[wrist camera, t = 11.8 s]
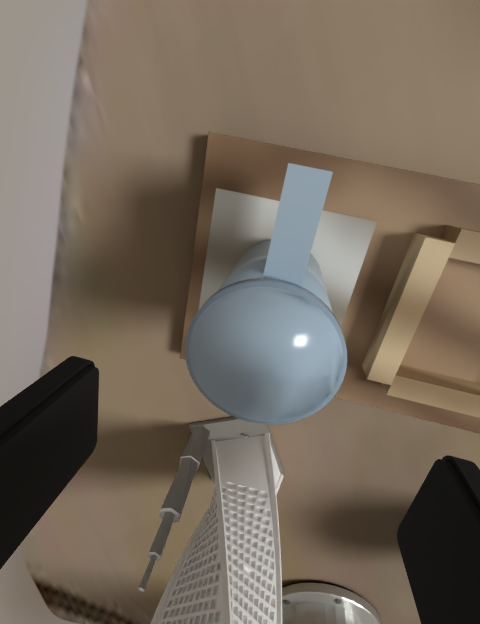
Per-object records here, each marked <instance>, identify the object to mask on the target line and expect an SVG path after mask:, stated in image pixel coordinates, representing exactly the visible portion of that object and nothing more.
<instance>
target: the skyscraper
mask: <svg viewBox="0 0 480 624" xmlns="http://www.w3.org/2000/svg"><path fill="white" fill-rule="evenodd" d="M188 427H189V430H190V432H191V437H190V439H189V441H188V443H187V445H186V447H185V449H184V451H183V453H182V455H181V457H180V462H179V466H180V467H179V469H178V472H177V474H176V476H175V479H174V481H173V483H172V485H171V487H170V490H169V492H168V494H167V496H166V499H165V501H164V503H163V505H162V507H161V511H160V517H162V518H163V520H162V523H161V525H160V527H159V530H158V532H157V535H156V537H155V539H154V542H153V544H152V546H151V549H150V551H149V555H148V557H150V558H151V559H150V562H149V564H148V567H147V569H146V572H145V574H144V577H143V579H142V582H141V584H140V587H139V590H140V591H141V592H142V591H145V588H146V585H147V582H148V580H149V577H150V574H151V571H152V569H153V566H154V563H155V561H156V560H160V558H161V555H162V552H163V549H164V546H165V543H166V540H167V537H168V534H169V532H170V529H171V526H172V523H173V522H179V519H180V516H181V513H182V510H183V507H184V504H185V501H186V498H187V495H188V492H189V489H190V486H191V483H192V480H193V477H194V474H195V472H196V471H198V469H199V466H200V463H201V460H202V459H203V461H204V463H205V465H206V468H207V470H208V472H209V474H210V477H211V479H212V481H213V483H215V489H214V494H213V498H212V502H211V505H210V507H209V508H208V510H207V511H206V513H205V515H204V516H203V518H202V520H201V521H200V523H199V525H198V526H197V528H196V530H195V532H194V533H193V535H192V537H191V539H190V540H189V542H188V544H187V546H186V548H185V550H184V552H183V553H182V555H181V557H180V559H179V561H178V563H177V565H176V567H175V569H174V571H173V573H172V575H171V577H170V579H169V582H168V584H167V586H166V588H165V590H164V593H163V595H162V597H161V600H160V602H159V604H158V606H157V609H156V611H155V614H154V616H153V619H152V621H151V624H282V573H281V550H280V534H279V521H278V508H277V498H276V495H277V492H278V490H279V487H280V484H281V482H282V479H283V477H284V472H283V469H282V466H281V463H280V461H279V458H278V455H277V452H276V449H275V446H274V443H273V441H272V438H271V435H270V432H269V429H268V426H267V424H257V423H252V422H247V421H244V420H241V419H238V418H236V417H229V418H222V419H216V420H209V421H203V422H196V423H190V424H189V426H188Z"/></svg>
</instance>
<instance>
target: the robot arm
mask: <svg viewBox="0 0 480 624" xmlns="http://www.w3.org/2000/svg"><path fill="white" fill-rule="evenodd" d="M98 389H99V370H98V368H96V367H95V365H94V362H92V361H90V360H86V359H83V358H79V357H75V356H71V357H69V358H67V359H66V360H65V361H63V362H62V363H60V364H59V365H58V366H56V367H55V368H54V369H52V370H51V371H49V372H48V373H47V374H45V375H44V376H42V377H41V378H40V379H38V380H37V381H35V382H34V383H33V384H31V385H30V386H29V387H27V388H26V389H24V390H23V391H22V392H20V393H19V394H17V395H16V396H15V397H13V398H12V399H11V400H9V401H8V402H6V403H5V404H4V405H2V406H1V407H0V569H1V568H2V566H3V565H4V564H5V563H6V561H7V560H8V559H9V558H10V556H11V555H12V554H13V553H14V551H15V550H16V549H17V547H18V546H19V545H20V544H21V542H22V541H23V540H24V539H25V537H26V536H27V535H28V534H29V532H30V531H31V530H32V528H33V527H34V526H35V525H36V523H37V522H38V521H39V520H40V518H41V517H42V516H43V515H44V513H45V512H46V511H47V509H48V508H49V507H50V506H51V504H52V503H53V502H54V501H55V499H56V498H57V497H58V496H59V494H60V493H61V492H62V490H63V489H64V488H65V487H66V485H67V484H68V483H69V482H70V480H71V479H72V478H73V476H74V475H75V474H76V473H77V471H78V470H79V469H80V468H81V466H82V465H83V464H84V463H85V461H86V460H87V459H88V457H89V456H90V455H91V454H92V452H93V450H94V448H95V446H96V443H97V424H98ZM397 539H398V544H399V548H400V551H401V555H402V558H403V562H404V565H405V569H406V572H407V576H408V579H409V583H410V586H411V589H412V593H413V596H414V600H415V603H416V607H417V610H418V614H419V617H420V621H421V624H480V470H479V468H478V467H477V466H476V465H475V463H473V462H471V461H468V460H464V459H460V458H456V457H453V456H445V457H443V459H442V460H441V459H438V460H436V461H435V463H434V465H433V466H432V468H431V470H430V472H429V474H428V475H427V477H426V479H425V481H424V483H423V484H422V486H421V488H420V490H419V491H418V493H417V495H416V497H415V499H414V500H413V502H412V504H411V506H410V508H409V509H408V511H407V513H406V515H405V517H404V518H403V520H402V522H401V524H400V526H399V528H398V532H397ZM282 624H381V623H380V619H379V616H378V614H377V612H376V611H375V610H374V608H373V607H372V606H371V605H370V604H369V603H368V602H367V601H366V600H364V599H363V598H361V597H360V596H358V595H357V594H355V593H353V592H351V591H348V590H346V589H343V588H340V587H337V586H334V585H329V584H324V583H313V582H312V583H298V584H292V585H289V586H286V587H283V588H282Z"/></svg>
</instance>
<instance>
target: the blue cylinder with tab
mask: <svg viewBox="0 0 480 624" xmlns="http://www.w3.org/2000/svg"><path fill="white" fill-rule="evenodd" d="M332 174H333V172H331V171H326V170H321V169H316V168H311V167H306V166H301V165H296V164H291V163H288V167H287V171H286V176H285V180H284V185H283V189H282V194H281V198H280V202H279V207H278V211H277V216H276V220H275V225H274V229H273V234H272V238H271V240H266V241H262V242H260V243H257V244H256V245H254V246H252V247H251V248H250V249H248V250H247V251H246V252H245V253H244V254H243V255H242V257H241V258H240V259H239V261H238V262H237V264H236V265H235V266H234V268H233V269H232V271H231V272H230V273H229V275H228V276H227V278H226V279H225V281H224V282H223V283H222V285H221V286H220V288H219V289H218V290H217V292H216V293H215V294H213V295H212V296H211V297H210V298H209V299H208V300H207V301H206V302H205V303H204V304H203V306H202V307H201V308H200V309H199V311H198V312H197V314H196V315H195V317H194V318H193V320H192V322H191V324H190V327H189V329H188V332H187V337H186V343H185V355H186V362H187V366H188V369H189V372H190V375H191V377H192V379H193V381H194V383H195V384H196V386H197V387H198V389H199V390H200V392H201V393H202V394H203V395H204V396H205V397H206V398H207V399H208V400H209V401H210V402H211V403H212V404H213V405H215V406H216V407H218V408H219V409H220V410H222V411H224V412H226V413H227V414H229V415H231V416H233V417H236V418H238V419H241V420H244V421H247V422H252V423H257V424H285V423H290V422H295V421H298V420H301V419H304V418H306V417H308V416H310V415H312V414H314V413H315V412H317V411H319V410H320V409H321V408H323V407H324V406H325V405H326V404H327V403H328V402H329V401H330V400H331V399H332V398H333V397H334V396H335V394H336V393H337V391H338V390H339V388H340V386H341V384H342V382H343V379H344V376H345V373H346V367H347V349H346V343H345V339H344V336H343V333H342V330H341V327H340V325H339V323H338V321H337V319H336V317H335V315H334V314H333V312H332V308H331V305H330V301H329V298H328V294H327V290H326V287H325V283H324V280H323V276H322V272H321V269H320V266H319V264H318V262H317V260H316V259H315V258H314V256H313V255H312V254H311V249H312V246H313V242H314V239H315V235H316V231H317V228H318V224H319V221H320V217H321V213H322V210H323V206H324V203H325V199H326V196H327V192H328V188H329V185H330V181H331V178H332Z"/></svg>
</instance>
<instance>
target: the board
mask: <svg viewBox="0 0 480 624" xmlns="http://www.w3.org/2000/svg"><path fill="white" fill-rule="evenodd" d="M288 163H291V164H296V165H301V166H306V167H311V168H316V169H321V170H326V171H331V172H333V174H332V178H331V181H330V185H329V188H328V192H327V196H326V199H325V203H324V206H323V210H322V213H321V217H320V221H319V224H318V228H317V231H316V235H315V239H314V242H313V246H312V249H311V254H312V255H313V256H314V258H315V259H316V260H317V262H318V264H319V266H320V269H321V272H322V276H323V280H324V283H325V287H326V290H327V294H328V298H329V301H330V305H331V308H332V312H333V314H334V315H335V317H336V319H337V321H338V323H339V325H340V327H341V330H342V333H343V336H344V339H345V343H346V349H347V367H346V373H345V376H344V379H343V382H342V384H341V386H340V388H339V390H338V391H337V393H336V394H335V396H334V397H337V398H341V399H345V400H349V401H353V402H357V403H361V404H365V405H368V406H372V407H376V408H380V409H384V410H388V411H392V412H396V413H400V414H404V415H408V416H412V417H416V418H420V419H424V420H428V421H432V422H436V423H440V424H444V425H448V426H452V427H456V428H460V429H464V430H468V431H472V432H476V433H480V418H479V417H474V416H470V415H466V414H462V413H458V412H454V411H450V410H446V409H442V408H438V407H434V406H430V405H426V404H422V403H418V402H414V401H410V400H406V399H402V398H398V397H394V396H390V395H387V394H386V392H385V390H384V387H383V385H382V383H380V382H376V381H372V380H368V379H367V378H366V375H365V372H364V370H363V367H362V364H363V361H364V359H365V356H366V354H367V351H368V349H369V346H370V344H371V341H372V339H373V336H374V334H375V331H376V329H377V326H378V324H379V321H380V318H381V316H382V313H383V311H384V308H385V306H386V303H387V301H388V298H389V296H390V293H391V291H392V288H393V286H394V283H395V281H396V278H397V276H398V273H399V271H400V268H401V266H402V263H403V261H404V258H405V256H406V253H407V251H408V248H409V246H410V243H411V240H412V238H413V235H414V233H419V234H423V235H428V236H433V237H438V238H442V236H443V234H444V231H445V229H446V227H447V225H451V226H455V227H460V228H465V229H470V230H475V231H480V184H475V183H470V182H465V181H459V180H454V179H449V178H444V177H439V176H434V175H429V174H423V173H418V172H413V171H408V170H403V169H398V168H392V167H387V166H382V165H377V164H372V163H367V162H361V161H356V160H351V159H346V158H341V157H336V156H331V155H325V154H320V153H315V152H310V151H305V150H300V149H294V148H289V147H284V146H279V145H274V144H269V143H264V142H258V141H253V140H248V139H243V138H238V137H233V136H227V135H222V134H217V133H212V132H209V134H208V142H207V150H206V157H205V165H204V173H203V181H202V189H201V197H200V204H199V212H198V220H197V228H196V236H195V243H194V251H193V259H192V267H191V275H190V282H189V290H188V298H187V306H186V314H185V322H184V329H183V337H182V345H181V353H180V358H182V359H186V355H185V343H186V337H187V332H188V329H189V327H190V324H191V322H192V320H193V318H194V317H195V315H196V314H197V312H198V311H199V309H200V308H201V307H202V306H203V304H204V303H205V302H206V301H207V300H208V299H209V298H210V297H211V296H212V295H213V294H215V293H216V292H217V290H218V289H219V288H220V286H221V285H222V283H223V282H224V281H225V279H226V278H227V276H228V275H229V273H230V272H231V271H232V269H233V268H234V266H235V265H236V264H237V262H238V261H239V259H240V258H241V257H242V255H243V254H244V253H245V252H246V251H247V250H248V249H250V248H251V247H252V246H254V245H256V244H257V243H260V242H262V241H266V240H271V238H272V234H273V229H274V225H275V220H276V216H277V211H278V207H279V202H280V198H281V194H282V189H283V185H284V180H285V176H286V171H287V167H288ZM401 365H406V366H410V367H414V368H418V369H422V370H426V371H431V372H435V373H439V374H443V375H447V376H452V377H456V378H460V379H464V380H468V381H472V382H477V383H480V264H477V263H472V262H467V261H463V260H458V259H453V258H448V260H447V263H446V265H445V267H444V269H443V271H442V274H441V276H440V278H439V280H438V282H437V285H436V287H435V289H434V291H433V293H432V296H431V298H430V300H429V302H428V304H427V307H426V309H425V311H424V313H423V316H422V318H421V320H420V322H419V324H418V327H417V329H416V331H415V333H414V335H413V338H412V340H411V342H410V344H409V346H408V349H407V351H406V353H405V355H404V357H403V360H402V362H401Z"/></svg>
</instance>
